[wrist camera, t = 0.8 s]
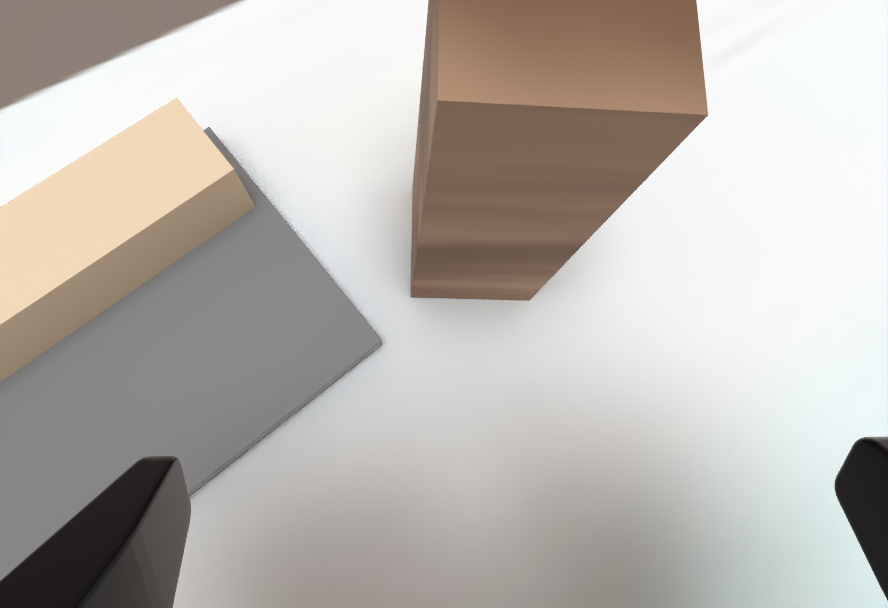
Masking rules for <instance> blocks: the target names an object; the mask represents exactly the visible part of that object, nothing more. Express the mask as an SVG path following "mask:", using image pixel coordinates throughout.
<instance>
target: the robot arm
mask: <svg viewBox="0 0 888 608" xmlns="http://www.w3.org/2000/svg"><path fill="white" fill-rule="evenodd" d="M835 492H836V496H837V498H838V501H839V503H840V505H841V507H842V509H843V511H844V513H845V515H846V517H847V519H848V521H849V523H850V525H851V527H852V529H853V531H854V533H855V535H856V537H857V540H858V542H859V544H860V546H861V548H862V550H863V552H864V554H865V556H866V558H867V560H868V562H869V564H870V566H871V568H872V570H873V572H874V574H875V576H876V579H877V581H878V583H879V585H880V587H881V589H882V591H883V593H884V594H885V596H886V598H887V600H888V437H864V438H860V439H859V440H857V441H856V442H855V443H854V445H853V446H852V448H851V450H850V452H849V454H848V456H847V458H846V459H845V461H844V463H843V465H842V467H841V469H840V471H839V473H838V474H837V476H836V479H835ZM190 516H191V503H190V498H189V494H188V489H187V485H186V481H185V477H184V473H183V469H182V465H181V462H180V460H179V459H178V458H177V457H175V456H148V457H143V458H141V459H140V460H138V461H137V462H135V463H134V464H133V465H132V466H131V467H130V468H129V469H127V470H126V471H125V472H124V473H123V474H122V475H120V476H119V477H118V478H117V479H116V480H115V481H114V482H112V483H111V484H110V485H109V486H108V487H107V488H106V489H104V490H103V491H102V492H101V493H100V494H99V495H98V496H96V497H95V498H94V499H93V500H92V501H91V502H90V503H88V504H87V505H86V506H85V507H84V508H83V509H82V510H80V511H79V512H78V513H77V514H76V515H75V516H73V517H72V518H71V519H70V520H69V521H68V522H67V523H65V524H64V525H63V526H62V527H61V528H60V529H59V530H57V531H56V532H55V533H54V534H53V535H52V536H51V537H49V538H48V539H47V540H46V541H45V542H44V543H43V544H41V545H40V546H39V547H38V548H37V549H36V550H35V551H33V552H32V553H31V554H30V555H29V556H28V557H27V558H25V559H24V560H23V561H22V562H21V563H20V564H18V565H17V566H16V567H15V568H14V569H13V570H12V571H10V572H9V573H8V574H7V575H6V576H5V577H4V578H2V579H1V580H0V608H172V607H173V602H174V597H175V592H176V587H177V582H178V577H179V572H180V567H181V562H182V558H183V553H184V548H185V543H186V538H187V533H188V528H189V523H190Z"/></svg>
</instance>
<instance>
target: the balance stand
mask: <svg viewBox="0 0 888 608" xmlns="http://www.w3.org/2000/svg"><path fill="white" fill-rule="evenodd" d="M381 345H382V340H381V339H380V337H379V336H378V335H377V334H376V332H375V331H374V330H373V329H372V327H371V326H370V325H369V324H368V323H367V321H366V320H365V319H364V318H363V316H362V315H361V314H360V313H359V311H358V310H357V309H356V308H355V306H354V305H353V304H352V303H351V302H350V300H349V299H348V298H347V297H346V295H345V294H344V293H343V292H342V290H341V289H340V288H339V287H338V285H337V284H336V283H335V282H334V281H333V279H332V278H331V277H330V276H329V274H328V273H327V272H326V271H325V269H324V268H323V267H322V266H321V264H320V263H319V262H318V261H317V260H316V258H315V257H314V256H313V255H312V253H311V252H310V251H309V250H308V248H307V247H306V246H305V245H304V243H303V242H302V241H301V240H300V238H299V237H298V236H297V235H296V234H295V232H294V231H293V230H292V229H291V227H290V226H289V225H288V224H287V222H286V221H285V220H284V219H283V217H282V216H281V215H280V214H279V213H278V211H277V210H276V209H275V208H274V206H273V205H272V204H271V203H270V201H269V200H268V199H267V198H266V196H265V195H264V194H263V193H262V192H261V190H260V189H259V188H258V187H257V185H256V184H255V183H254V182H253V180H252V179H251V178H250V177H249V175H248V174H247V173H246V172H245V171H244V169H243V168H242V167H241V166H240V164H239V163H238V162H237V161H236V159H235V158H234V157H233V156H232V154H231V153H230V152H229V151H228V150H227V148H226V147H225V146H224V145H223V143H222V142H221V141H220V140H219V138H218V137H217V136H216V135H215V133H214V132H213V131H212V130H211V128H210V127H208V128H206V129H205V130H202V129H201V127H200V126H199V125H198V124H197V122H196V121H195V120H194V119H193V117H192V116H191V115H190V114H189V113H188V111H187V110H186V109H185V108H184V106H183V105H182V104H181V103H180V101H179V100H178V99H177V98H176V99H174V100H172V101H171V102H169V103H168V104H166V105H164V106H163V107H161V108H159V109H158V110H156V111H155V112H153V113H151V114H150V115H148V116H147V117H145V118H143V119H142V120H140V121H139V122H137V123H135V124H134V125H132V126H131V127H129V128H127V129H126V130H124V131H122V132H121V133H119V134H118V135H116V136H114V137H113V138H111V139H110V140H108V141H106V142H105V143H103V144H102V145H100V146H98V147H97V148H95V149H93V150H92V151H90V152H89V153H87V154H85V155H84V156H82V157H81V158H79V159H77V160H76V161H74V162H73V163H71V164H69V165H68V166H66V167H65V168H63V169H61V170H60V171H58V172H56V173H55V174H53V175H52V176H50V177H48V178H47V179H45V180H44V181H42V182H40V183H39V184H37V185H36V186H34V187H32V188H31V189H29V190H28V191H26V192H24V193H23V194H21V195H19V196H18V197H16V198H15V199H13V200H11V201H10V202H8V203H7V204H5V205H3V206H2V207H0V580H1V579H2V578H4V577H5V576H6V575H7V574H8V573H9V572H10V571H12V570H13V569H14V568H15V567H16V566H17V565H18V564H20V563H21V562H22V561H23V560H24V559H25V558H27V557H28V556H29V555H30V554H31V553H32V552H33V551H35V550H36V549H37V548H38V547H39V546H40V545H41V544H43V543H44V542H45V541H46V540H47V539H48V538H49V537H51V536H52V535H53V534H54V533H55V532H56V531H57V530H59V529H60V528H61V527H62V526H63V525H64V524H65V523H67V522H68V521H69V520H70V519H71V518H72V517H73V516H75V515H76V514H77V513H78V512H79V511H80V510H82V509H83V508H84V507H85V506H86V505H87V504H88V503H90V502H91V501H92V500H93V499H94V498H95V497H96V496H98V495H99V494H100V493H101V492H102V491H103V490H104V489H106V488H107V487H108V486H109V485H110V484H111V483H112V482H114V481H115V480H116V479H117V478H118V477H119V476H120V475H122V474H123V473H124V472H125V471H126V470H127V469H129V468H130V467H131V466H132V465H133V464H134V463H135V462H137V461H138V460H140V459H141V458H143V457H148V456H175V457H177V458H178V459H179V460H180V462H181V465H182V469H183V473H184V477H185V481H186V485H187V489H188V494H189V496H190V495H192V494H193V493H194V492H195V491H197V490H198V489H199V488H200V487H202V486H203V485H204V484H206V483H207V482H208V481H209V480H211V479H212V478H213V477H214V476H216V475H217V474H218V473H220V472H221V471H222V470H223V469H225V468H226V467H227V466H228V465H230V464H231V463H232V462H233V461H235V460H236V459H237V458H239V457H240V456H241V455H242V454H244V453H245V452H246V451H247V450H249V449H250V448H251V447H253V446H254V445H255V444H256V443H258V442H259V441H260V440H261V439H263V438H264V437H265V436H267V435H268V434H269V433H270V432H272V431H273V430H274V429H275V428H277V427H278V426H279V425H281V424H282V423H283V422H284V421H286V420H287V419H288V418H289V417H291V416H292V415H293V414H295V413H296V412H297V411H298V410H300V409H301V408H302V407H303V406H305V405H306V404H307V403H309V402H310V401H311V400H312V399H314V398H315V397H316V396H317V395H319V394H320V393H321V392H323V391H324V390H325V389H326V388H328V387H329V386H330V385H331V384H333V383H334V382H335V381H336V380H338V379H339V378H340V377H342V376H343V375H344V374H345V373H347V372H348V371H349V370H350V369H352V368H353V367H354V366H356V365H357V364H358V363H359V362H361V361H362V360H363V359H364V358H366V357H367V356H368V355H370V354H371V353H372V352H373V351H375V350H376V349H377V348H378V347H380V346H381Z"/></svg>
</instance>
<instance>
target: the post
mask: <svg viewBox="0 0 888 608" xmlns="http://www.w3.org/2000/svg"><path fill="white" fill-rule="evenodd" d="M707 115H708V110H707V101H706V91H705V81H704V71H703V62H702V52H701V42H700V33H699V23H698V13H697V3H696V0H429V3H428V15H427V26H426V38H425V50H424V61H423V73H422V84H421V96H420V108H419V119H418V131H417V143H416V154H415V166H414V177H413V201H412V252H411V297H422V298H459V299H497V300H530V299H531V298H532V297H533V296H534V295H535V294H536V293H537V292H538V291H539V290H540V289H541V288H542V286H543V285H544V284H545V283H546V282H547V281H548V280H549V279H550V278H551V277H552V276H553V275H554V274H555V273H556V272H557V271H558V270H559V269H560V268H561V267H562V266H563V265H564V264H565V263H566V262H567V261H568V260H569V259H570V257H571V256H572V255H573V254H574V253H575V252H576V251H577V250H578V249H579V248H580V247H581V246H582V245H583V244H584V243H585V242H586V241H587V240H588V239H589V238H590V237H591V236H592V235H593V234H594V233H595V232H596V231H597V229H598V228H599V227H600V226H601V225H602V224H603V223H604V222H605V221H606V220H607V219H608V218H609V217H610V216H611V215H612V214H613V213H614V212H615V211H616V210H617V209H618V208H619V207H620V206H621V205H622V204H623V203H624V202H625V200H626V199H627V198H628V197H629V196H630V195H631V194H632V193H633V192H634V191H635V190H636V189H637V188H638V187H639V186H640V185H641V184H642V183H643V182H644V181H645V180H646V179H647V178H648V177H649V176H650V175H651V174H652V172H653V171H654V170H655V169H656V168H657V167H658V166H659V165H660V164H661V163H662V162H663V161H664V160H665V159H666V158H667V157H668V156H669V155H670V154H671V153H672V152H673V151H674V150H675V149H676V148H677V147H678V146H679V145H680V143H681V142H682V141H683V140H684V139H685V138H686V137H687V136H688V135H689V134H690V133H691V132H692V131H693V130H694V129H695V128H696V127H697V126H698V125H699V124H700V123H701V122H702V121H703V120H704V119H705V118H706V117H707Z"/></svg>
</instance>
